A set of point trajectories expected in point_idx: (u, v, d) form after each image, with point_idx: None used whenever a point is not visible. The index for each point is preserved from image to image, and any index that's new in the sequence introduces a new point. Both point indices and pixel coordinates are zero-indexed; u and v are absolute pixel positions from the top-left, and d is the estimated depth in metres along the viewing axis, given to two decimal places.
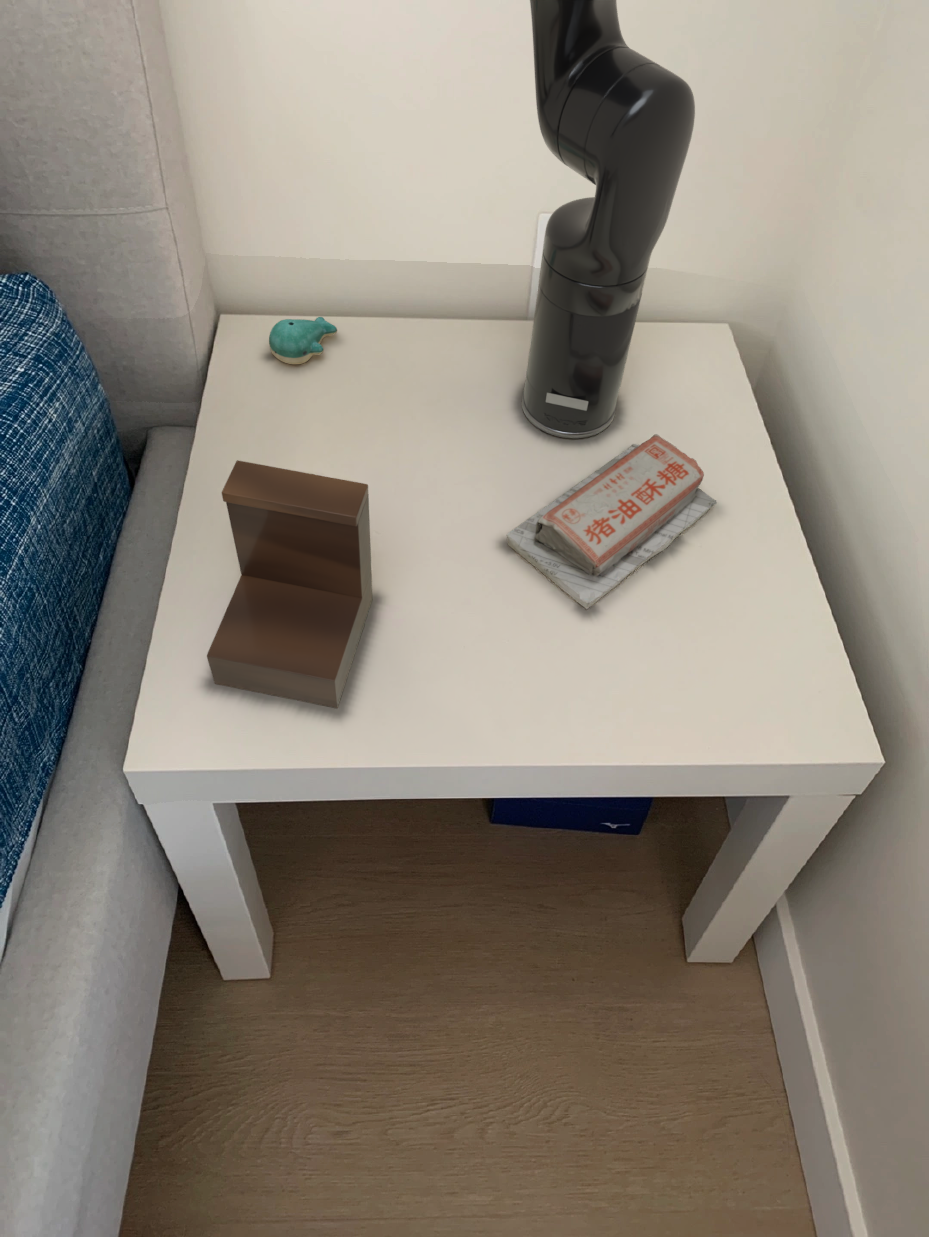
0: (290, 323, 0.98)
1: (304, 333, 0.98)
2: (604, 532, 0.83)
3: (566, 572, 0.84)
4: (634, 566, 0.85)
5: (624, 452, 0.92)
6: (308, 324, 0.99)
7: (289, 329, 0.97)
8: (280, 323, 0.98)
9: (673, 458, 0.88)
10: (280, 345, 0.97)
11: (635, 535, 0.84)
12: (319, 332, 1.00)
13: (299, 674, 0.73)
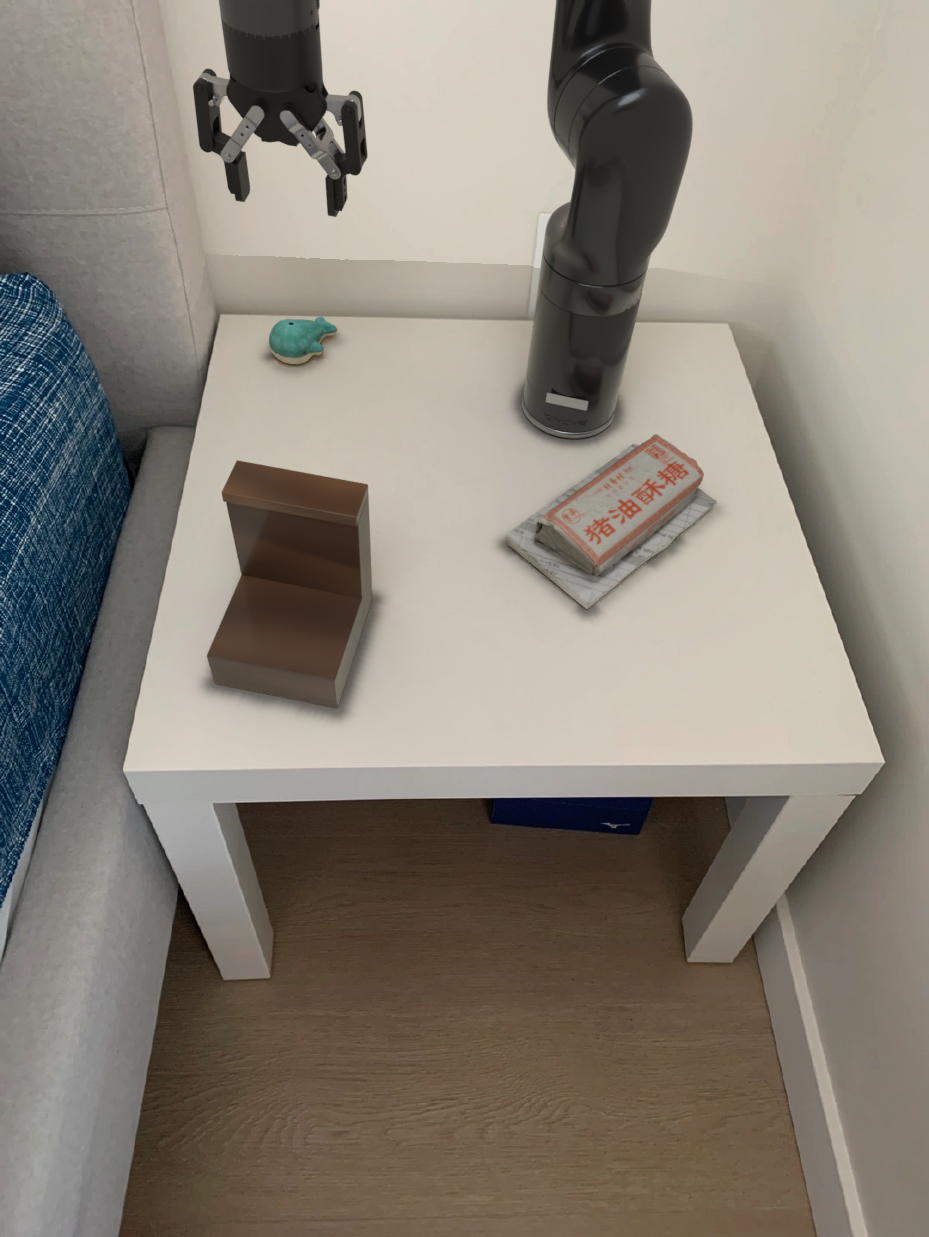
0: (290, 323, 0.98)
1: (304, 333, 0.98)
2: (604, 532, 0.83)
3: (566, 572, 0.84)
4: (634, 566, 0.85)
5: (624, 452, 0.92)
6: (308, 324, 0.99)
7: (289, 329, 0.97)
8: (280, 323, 0.98)
9: (673, 458, 0.88)
10: (280, 345, 0.97)
11: (635, 535, 0.84)
12: (319, 332, 1.00)
13: (299, 674, 0.73)
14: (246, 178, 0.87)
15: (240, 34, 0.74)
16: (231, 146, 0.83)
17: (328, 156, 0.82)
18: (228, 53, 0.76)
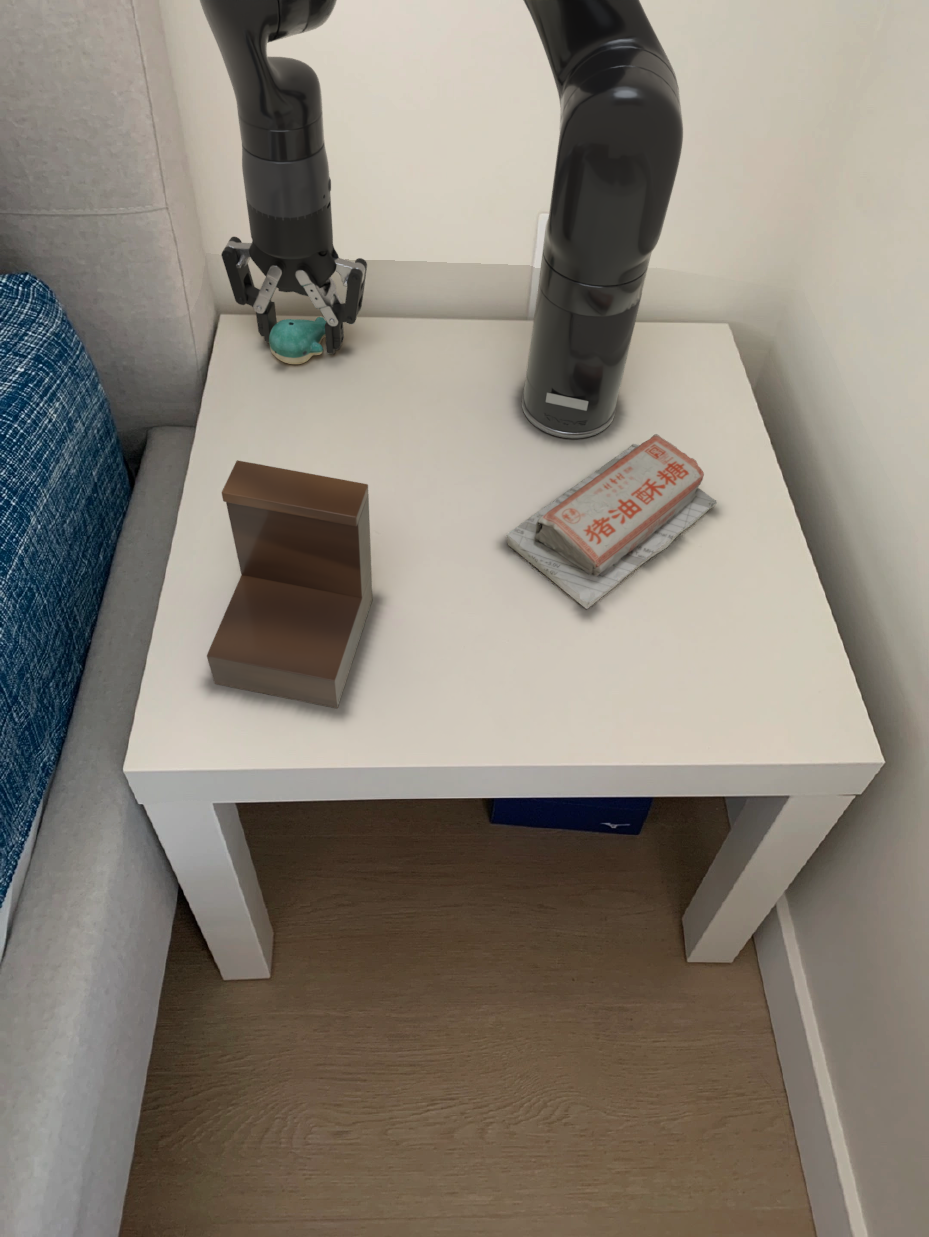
0: (290, 323, 0.98)
1: (304, 333, 0.98)
2: (604, 532, 0.83)
3: (566, 572, 0.84)
4: (634, 566, 0.85)
5: (624, 452, 0.92)
6: (308, 324, 0.99)
7: (289, 329, 0.97)
8: (280, 323, 0.98)
9: (673, 458, 0.88)
10: (280, 345, 0.97)
11: (635, 535, 0.84)
12: (319, 332, 1.00)
13: (299, 674, 0.73)
14: (274, 323, 1.00)
15: (262, 215, 0.86)
16: (260, 300, 0.96)
17: (330, 309, 0.95)
18: (252, 226, 0.88)
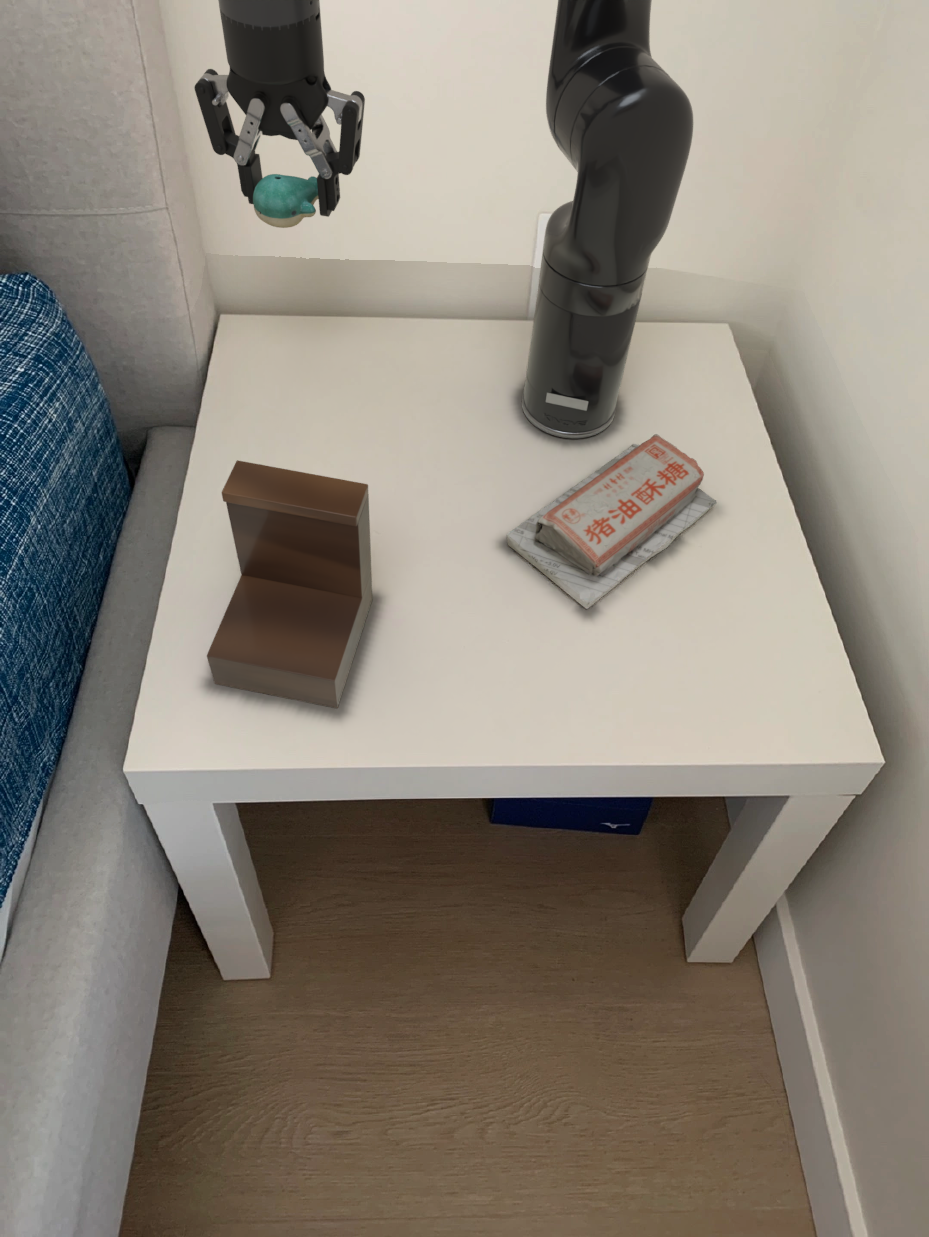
0: (277, 178, 0.84)
1: (292, 189, 0.84)
2: (604, 532, 0.83)
3: (566, 572, 0.84)
4: (634, 566, 0.85)
5: (624, 452, 0.92)
6: (297, 180, 0.85)
7: (275, 183, 0.83)
8: (265, 178, 0.84)
9: (673, 458, 0.88)
10: (264, 203, 0.84)
11: (635, 535, 0.84)
12: (311, 191, 0.86)
13: (299, 674, 0.73)
14: None
15: (238, 25, 0.72)
16: (242, 147, 0.82)
17: (323, 155, 0.81)
18: (227, 44, 0.74)
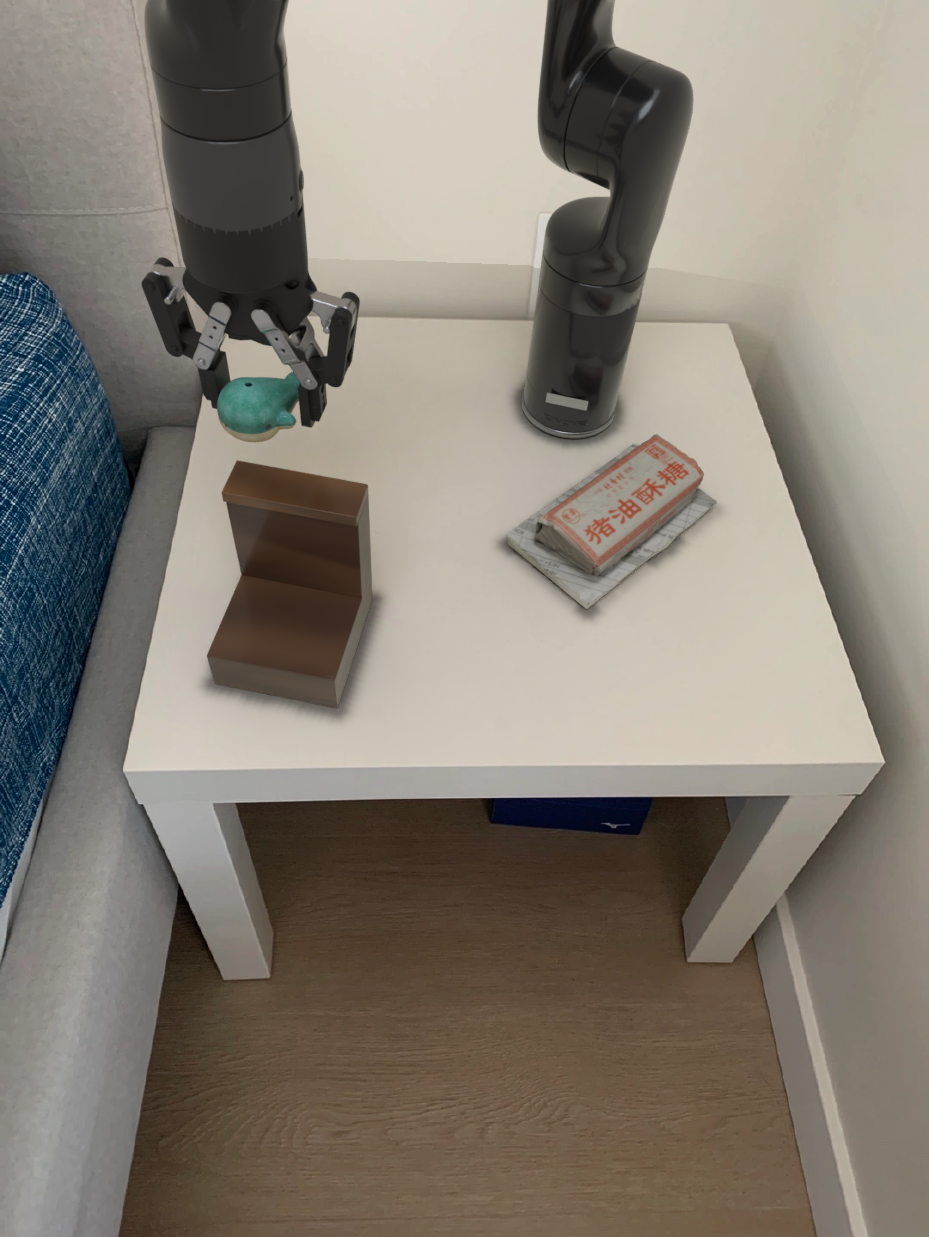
0: (247, 384, 0.67)
1: (267, 399, 0.67)
2: (604, 532, 0.83)
3: (566, 572, 0.84)
4: (634, 566, 0.85)
5: (624, 452, 0.92)
6: (274, 384, 0.68)
7: (245, 393, 0.66)
8: (232, 384, 0.67)
9: (673, 458, 0.88)
10: (231, 416, 0.66)
11: (635, 535, 0.84)
12: (291, 395, 0.69)
13: (299, 674, 0.73)
14: (226, 381, 0.69)
15: (195, 226, 0.55)
16: (203, 351, 0.65)
17: (305, 365, 0.64)
18: (181, 243, 0.57)
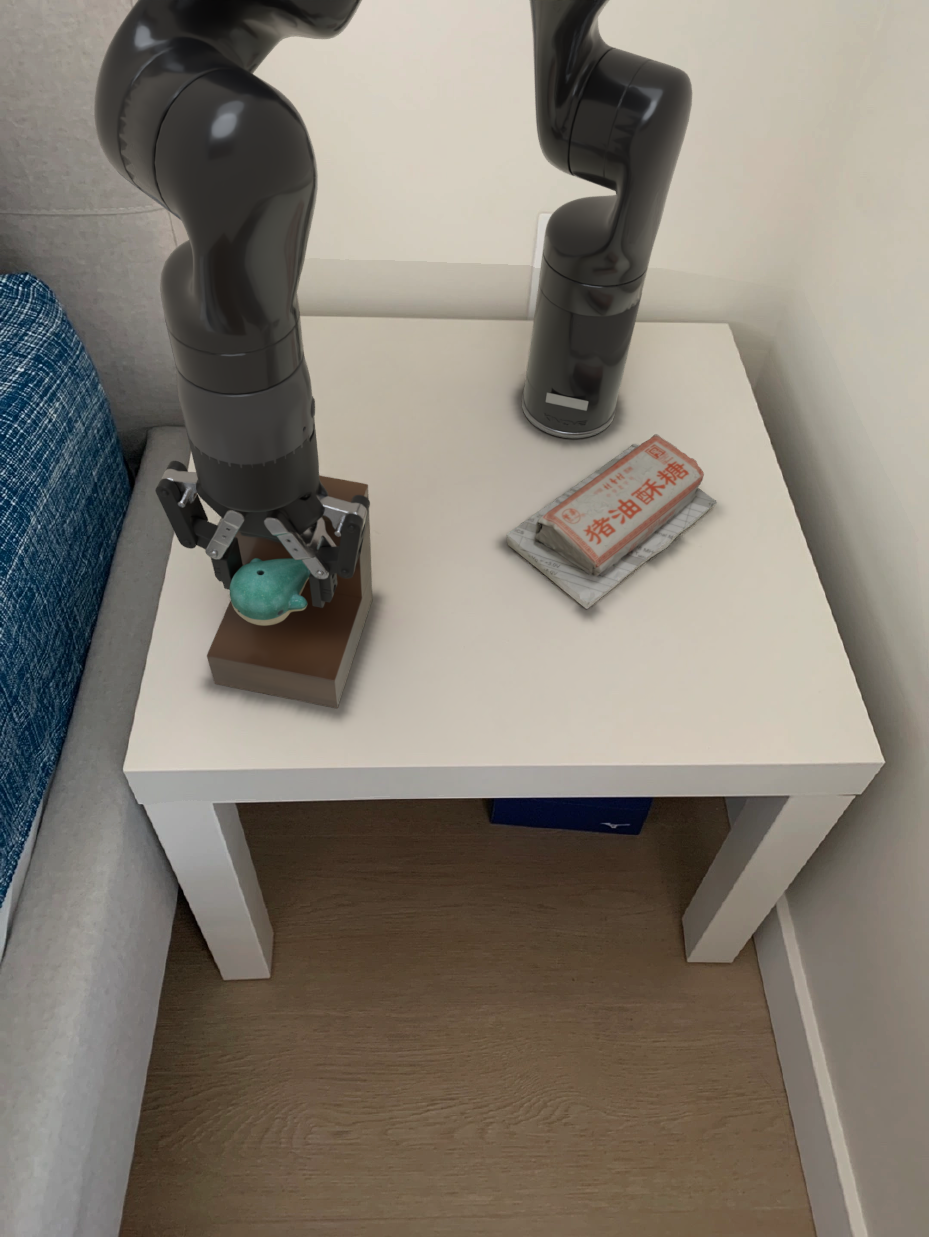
0: (259, 571, 0.68)
1: (279, 586, 0.68)
2: (604, 532, 0.83)
3: (566, 572, 0.84)
4: (634, 566, 0.85)
5: (624, 452, 0.92)
6: (285, 568, 0.69)
7: (257, 582, 0.67)
8: (244, 572, 0.68)
9: (673, 458, 0.88)
10: (244, 604, 0.68)
11: (635, 535, 0.84)
12: (301, 577, 0.70)
13: (299, 674, 0.73)
14: (238, 562, 0.70)
15: (210, 459, 0.56)
16: (216, 544, 0.66)
17: (317, 560, 0.65)
18: (196, 466, 0.58)
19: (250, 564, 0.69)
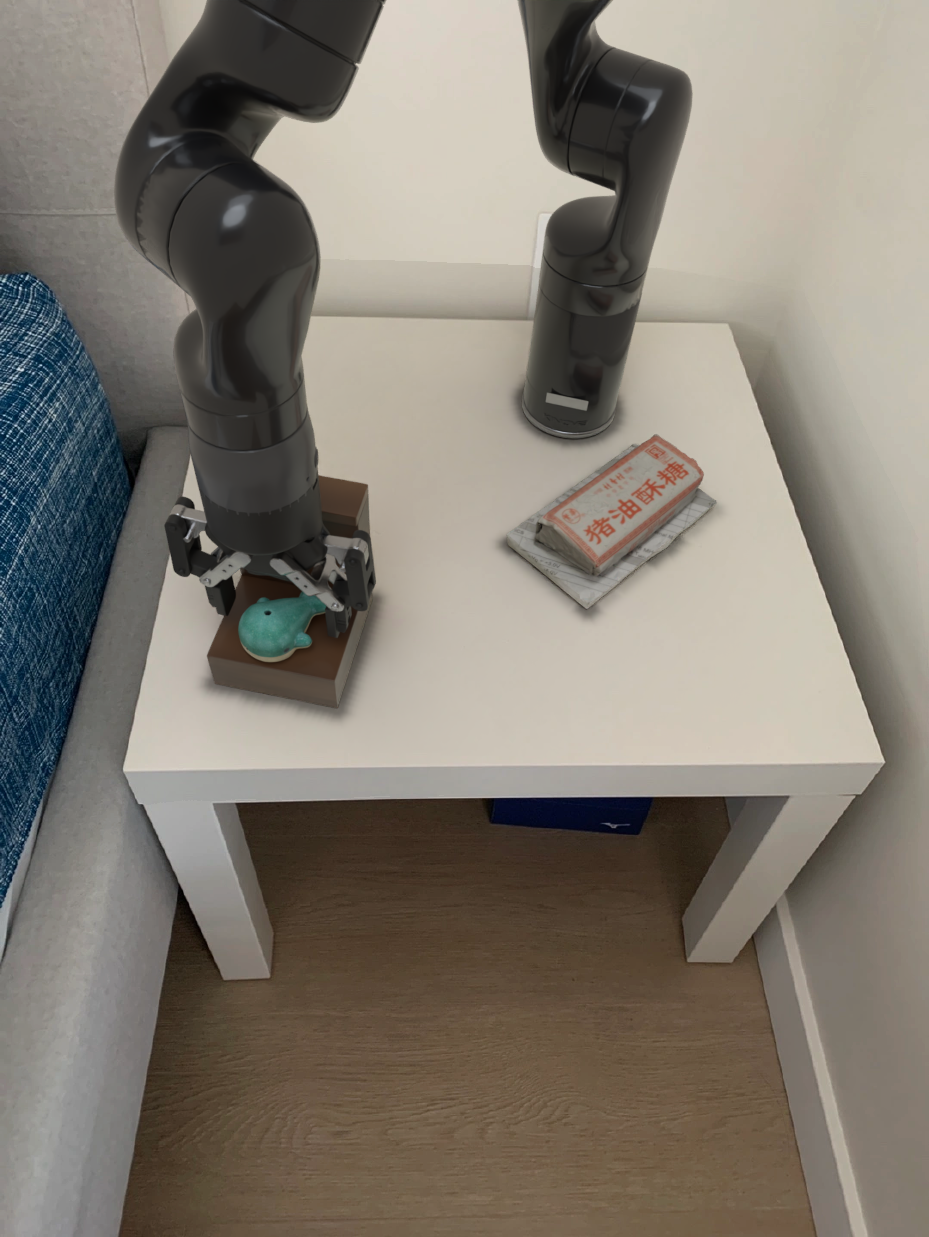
0: (266, 611, 0.72)
1: (285, 626, 0.72)
2: (604, 532, 0.83)
3: (566, 572, 0.84)
4: (634, 566, 0.85)
5: (624, 452, 0.92)
6: (291, 608, 0.73)
7: (265, 622, 0.71)
8: (252, 612, 0.72)
9: (673, 458, 0.88)
10: (252, 643, 0.72)
11: (635, 535, 0.84)
12: (306, 615, 0.74)
13: (299, 674, 0.73)
14: (231, 589, 0.73)
15: (219, 507, 0.59)
16: (212, 575, 0.69)
17: (329, 593, 0.68)
18: (205, 512, 0.62)
19: (258, 604, 0.72)
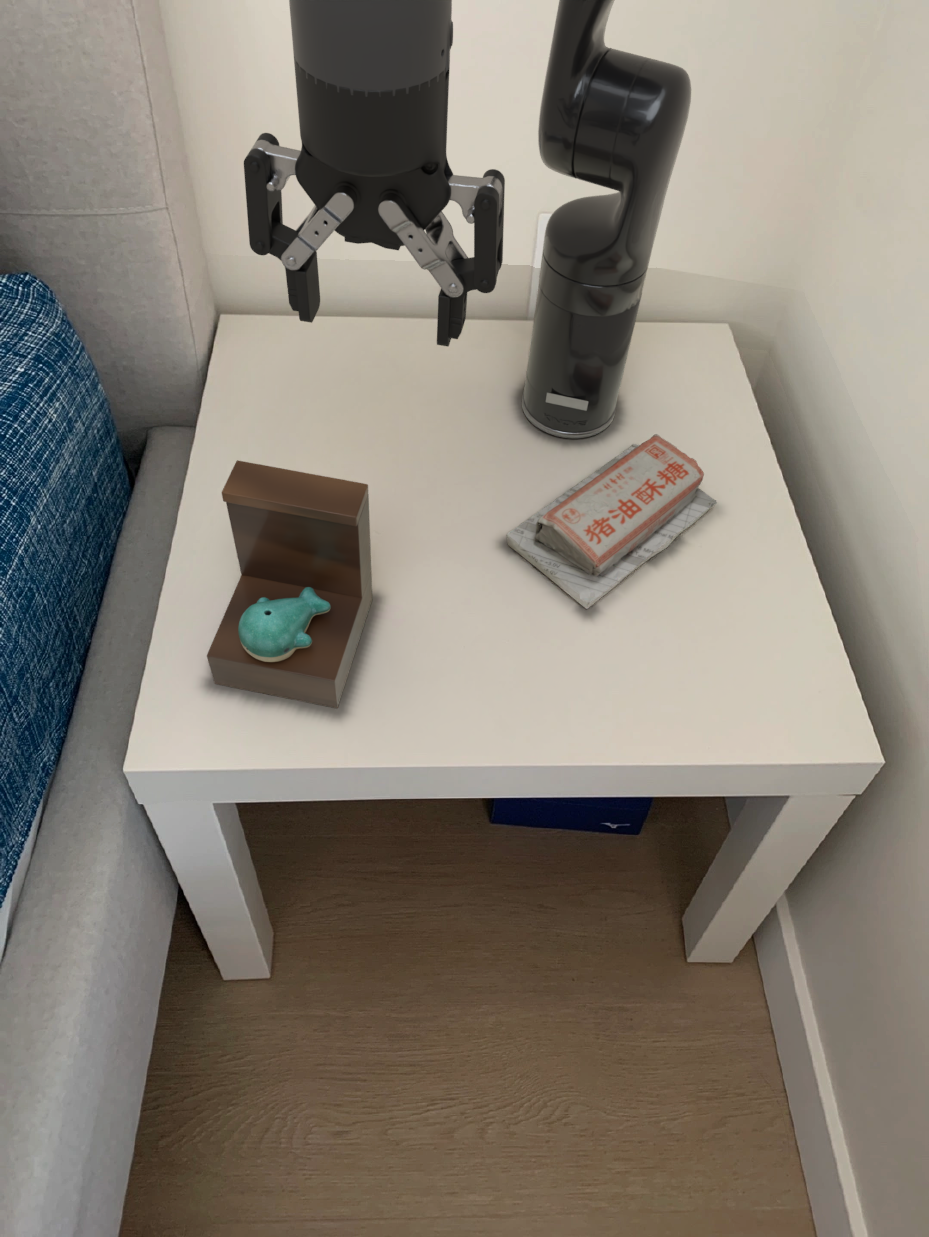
0: (266, 611, 0.72)
1: (285, 626, 0.72)
2: (604, 532, 0.83)
3: (566, 572, 0.84)
4: (634, 566, 0.85)
5: (624, 452, 0.92)
6: (291, 608, 0.73)
7: (265, 622, 0.71)
8: (252, 612, 0.72)
9: (673, 458, 0.88)
10: (252, 643, 0.72)
11: (635, 535, 0.84)
12: (306, 615, 0.74)
13: (299, 674, 0.73)
14: (316, 288, 0.59)
15: (327, 88, 0.45)
16: (298, 248, 0.55)
17: (447, 265, 0.54)
18: (304, 115, 0.48)
19: (258, 604, 0.72)
